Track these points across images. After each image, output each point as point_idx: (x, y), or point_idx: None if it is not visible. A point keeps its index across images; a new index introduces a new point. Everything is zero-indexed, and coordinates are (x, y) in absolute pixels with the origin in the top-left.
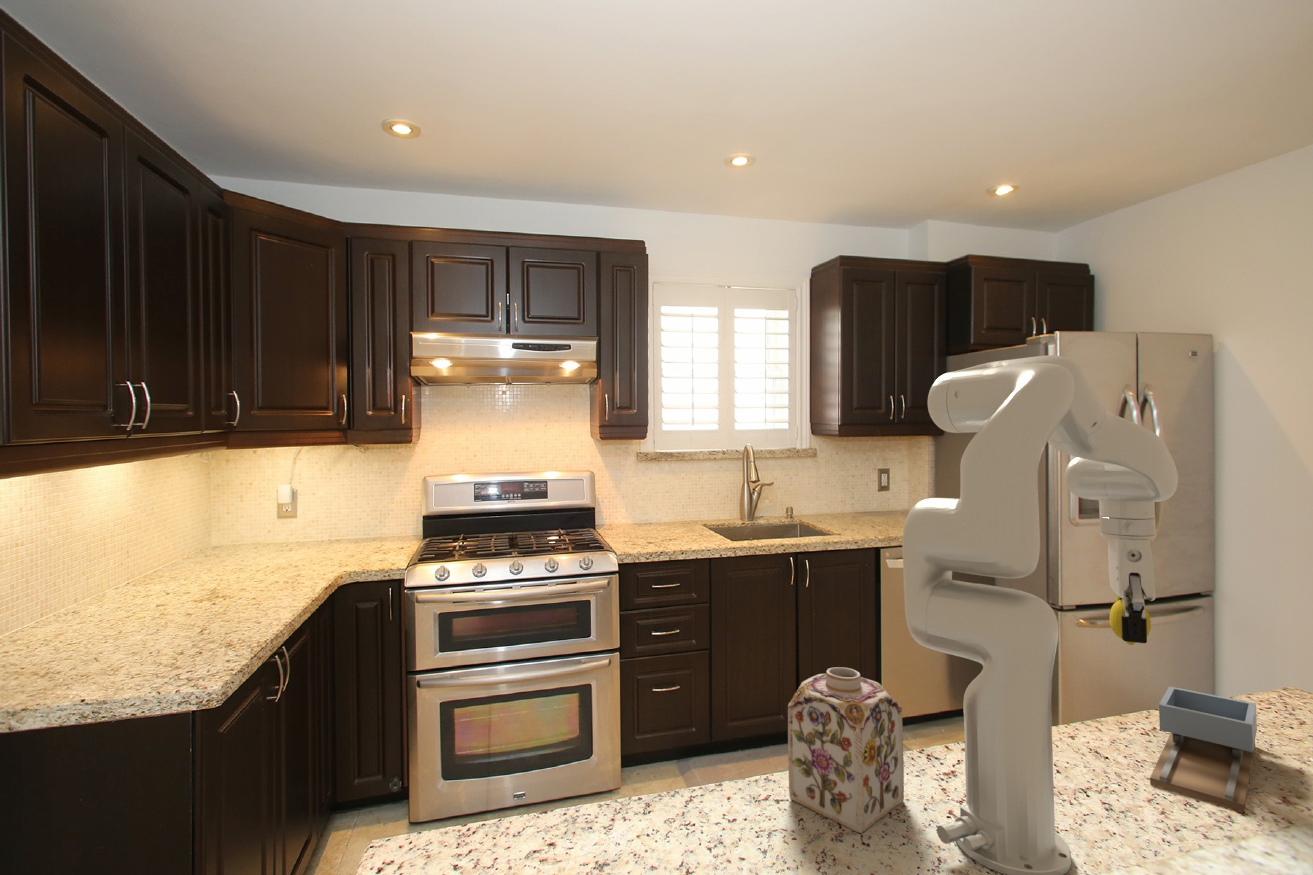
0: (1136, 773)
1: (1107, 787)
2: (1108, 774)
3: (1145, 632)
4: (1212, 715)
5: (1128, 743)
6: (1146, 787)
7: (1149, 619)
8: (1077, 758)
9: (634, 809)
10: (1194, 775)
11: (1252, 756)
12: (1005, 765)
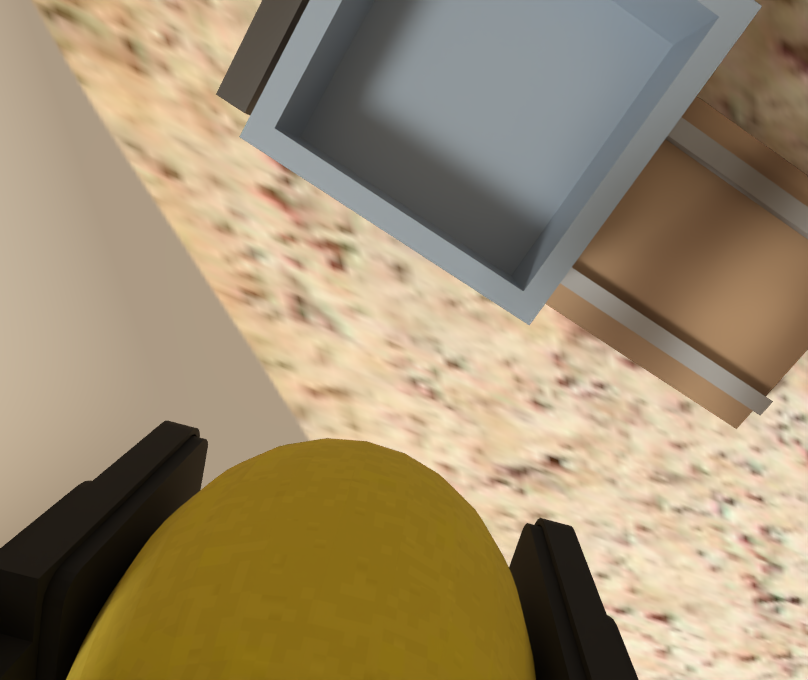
0: (654, 424)
1: (747, 536)
2: (668, 501)
3: (590, 595)
4: (647, 142)
5: (433, 348)
6: (741, 437)
7: (455, 575)
8: None
9: None
10: (711, 287)
11: None
12: None
